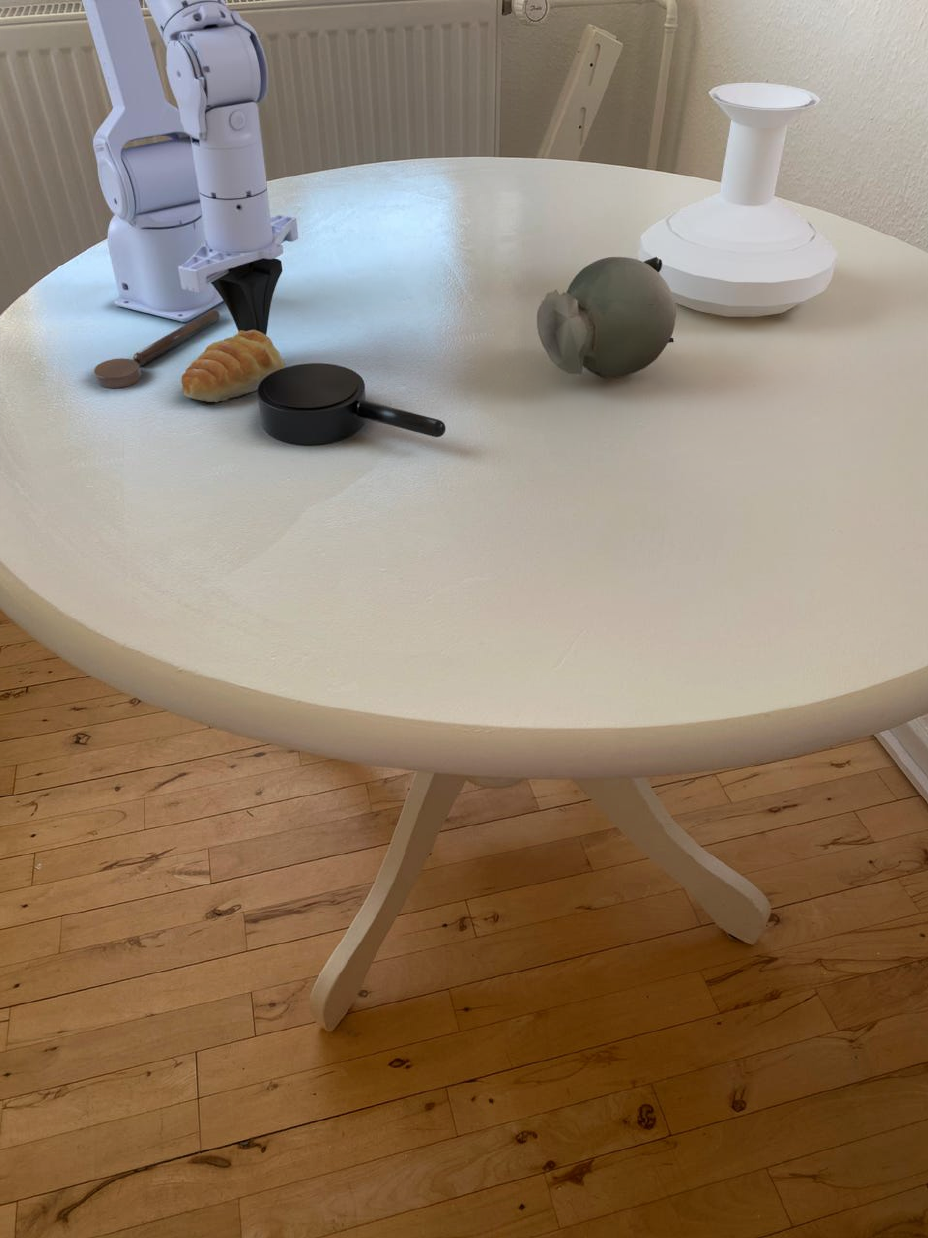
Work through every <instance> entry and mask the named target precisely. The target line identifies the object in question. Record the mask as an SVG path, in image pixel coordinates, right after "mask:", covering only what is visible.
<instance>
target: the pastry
mask: <svg viewBox="0 0 928 1238" xmlns="http://www.w3.org/2000/svg"><path fill="white" fill-rule="evenodd" d="M283 368H286V364H285V360H284V359H283V358H282V356H281V353H280V351H279V350H278V348H276V346H275V345H274V343H273V341H272V339H271V338H270V337H269V336H268V335H267V334H266V335H265V334H263V333H261V332H259V331H257V330H249V331H244V330H240V331H239V332H237V334H235V335H233V336H230V337H226V338H224V339H222V340H219V341H215V342H212V343H211V344H209V345H208V346H207V347H206V348H205V350H204V351H203V352H202V353H201V354H200V355H199V356H198V357H197V358H196V360H194V361H193V362H191V364H190V365H189V367H187V368H186V369H185V372H184V373H183V374H182V375H181V380H180V381H181V386H182V390H181V392H182V396H185V397H187V398H190V399H192V400H193V399H194V400H197V401H203V402H208V403H213V402H214V403H216V404H217V403H219V402H227V401H228V400H229V399H232V398H237V397H238V398H239V397H242V396H244V395H247V394H249V393H253V392H257V389H258V386H259V384H260V382H261V381H262V380H263V379H264V378H265V377H267V376H268V375H270V374H271V373H273V372H275V371H277V370H280V369H283Z"/></svg>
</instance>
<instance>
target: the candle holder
mask: <svg viewBox="0 0 928 1238" xmlns="http://www.w3.org/2000/svg"><path fill="white" fill-rule="evenodd" d="M708 94H709V96H710V98H711V99H712V100H713V101H714V102H715V103H716V104H717V106H719V108H720V109H721V110H722V111H723V112H724V114H726V116H727V117H729V119H730V124H729V129H728V137H727V141H726V142H727V143H726V147H725V148H726V149H725V155H724V161H723V167H722V168H723V169H722V173H721V180H720V186H719V192H717V193H715V194H712V195H710V196H707V197H705V198H703V199H700V200H699V201H696V202H694V203H691V204H688V205H685V206H684V207H682V208H680V209H676V210H674V211H672V212H670V214H668V215H667V216H664V218H662V219H660V220H658V221H656V222H655V223H653V224H652V225H651V226H649V228H647V229H646V230H645V231H644V232H643V233H642V234H641V236H639V243H638V254H637V260H640V261H642V262H644V261H646V260H649V259H652V258H655V257H657V258H658V259H661V260H662V268H661V270H660V272H659V274H660V275H661V276H662V277H663V279H664V280H665V281H666V283H667V284H668V286H669V288H670V290H671V293H672V295H673V299H674V302H675V304H678V305H681V306H683V307H686V308H689V309H692V310H695V311H697V312H701V313H706V314H712V315H717V316H722V317H728V318H729V317H730V318H731V317H735V318H737V317H739V318H741V317H742V318H746V317H747V318H758V317H765V316H771V315H778V314H782V313H784V312H786V311H789V310H790V309H792V308H795V307H796V306H798V305H801V304H802V303H804V302H806V301H807V300H810V299H812V298H813V297H815V296H817V295H819V294H821V293H823V292H825V291H826V290H827V287H828V286H829V284H830V282H831V281H832V279H833V277H834V271H835V268H836V263H837V259H838V254H839V253H838V252H837V251H836V249H835V248H834V247H833V245H832V243H830V241H829V240H828V239H827V238H826V237H825V236H824V235H823V234H822V233H821V232H820V231H819V230H818V229H817V228H816V227H815V226H814V225H813V224H812V222H810V221H808V220H806V219H805V218H804V217H803V216H802V215H800V214H799V213H797V212H796V211H794V210H793V209H792V208H790V207H789V206H787V205H786V204H784V203H783V202H781V201H780V200H778V198H776V197H775V193H776V189H777V188H776V187H777V183H778V177H779V172H780V168H781V167H780V166H781V162H782V156H783V152H784V146H785V141H786V136H787V130H788V124H790V123H791V122H793V121H794V120H795V119H797V118H799V117H800V116H801V115H803V114H804V113H806V112H807V111H809V110H811V109H812V108H814V107H815V106H816V105H817V104H819V102H820V101H821V98H820V97H819V96H818V95H817V94H816V93H814V92H811V91H809V90H808V89H804V88H801V87H798V86H797V87H796V86H793V85H792V86H790V85H786V84H779V83H769V82H736V83H726V84H722V85H719V86H718V85H717V86H715V87H713V88H711V90H710V91H708Z"/></svg>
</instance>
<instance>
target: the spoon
mask: <svg viewBox="0 0 928 1238" xmlns="http://www.w3.org/2000/svg"><path fill="white" fill-rule="evenodd" d="M220 318H221V313H220V312H219V311H218V310H217V309H212V308H211V309H209V310H207V311H205V312H204V313H202V314H200V315H198V316H197V317H195V318H193V319H192V320H190V321H188V322H186V323H185V324H184V325H182V326H180V327H179V328H177V329H176V330H174V331H172V332H170V333H169V334H166V335H165V336H163V337H161V338H160V339H158V340H156V341H155V342H153V343H151V344H149V345H147V346H146V347H144V348H143V349H140V350H139V351H137V352H135V353H134V355H133V356H132V357H133V358H132V359H131V358H124V357H123V358H122V357H121V358H112V359H108V360H104V361H102V362H100V363H99V364H97V365H96V366H95V367H94V369H93V373H94V377H95V382H96V383H97V384H98V385H99V386H101V387H103V388H109V389H121V388H125V387H129V386H132V385H134V384H136V383H138V382H139V381H140V379H141V378H142V371H141V366H144V365H146V364H147V363H149V362H151V361H153V360H154V359H156V358H158V357H160V356H161V355H162V354H165V353H166V352H168V351H170V350H171V349H172V348H175V347H176V346H178V345H179V344H181V343H183V342H184V341H186V340H188V339H190V338H191V337H193V336H194V335H196V334H198V333H200V332H201V331H203V330H205V329H206V328H208V327H209V326H211V325H213V324H215V323H216V322H218V321H219V320H220Z"/></svg>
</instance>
